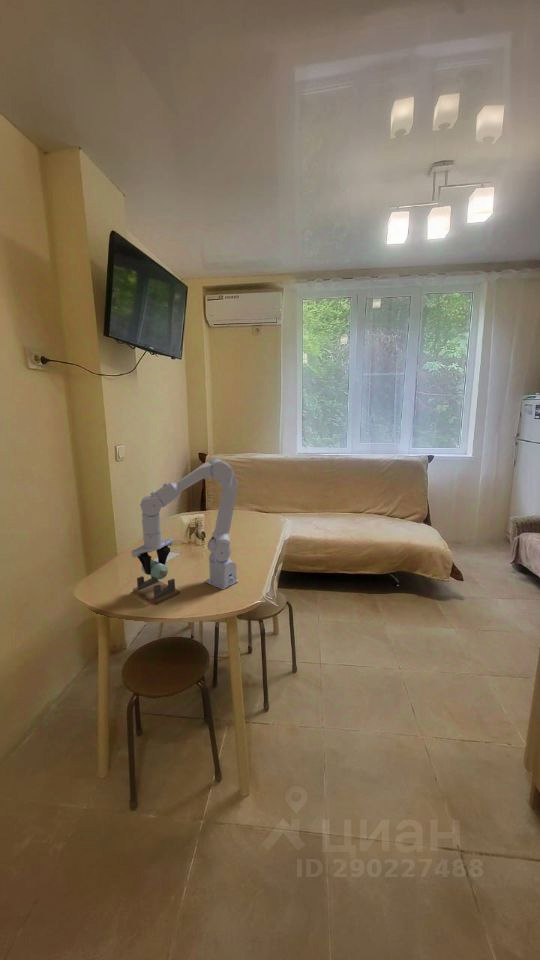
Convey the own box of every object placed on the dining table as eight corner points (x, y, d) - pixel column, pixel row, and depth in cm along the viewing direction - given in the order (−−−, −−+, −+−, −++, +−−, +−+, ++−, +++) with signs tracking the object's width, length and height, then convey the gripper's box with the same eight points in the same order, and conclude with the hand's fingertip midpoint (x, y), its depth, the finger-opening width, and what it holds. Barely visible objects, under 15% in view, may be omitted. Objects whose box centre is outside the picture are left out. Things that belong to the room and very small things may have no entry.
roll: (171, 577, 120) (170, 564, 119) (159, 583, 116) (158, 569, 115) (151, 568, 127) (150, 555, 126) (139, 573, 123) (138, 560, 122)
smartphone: (181, 553, 157) (159, 566, 143) (181, 554, 157) (159, 567, 143) (168, 551, 160) (145, 564, 146) (168, 552, 160) (145, 565, 146)
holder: (180, 593, 122) (179, 579, 121) (157, 604, 115) (156, 590, 114) (156, 581, 130) (155, 568, 130) (133, 591, 124) (132, 577, 123)
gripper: (163, 524, 127) (166, 561, 129) (125, 535, 116) (128, 575, 118) (176, 528, 122) (178, 566, 125) (137, 540, 111) (140, 581, 114)
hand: (155, 571), depth 121 cm, fingers closed on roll, 5 cm apart
